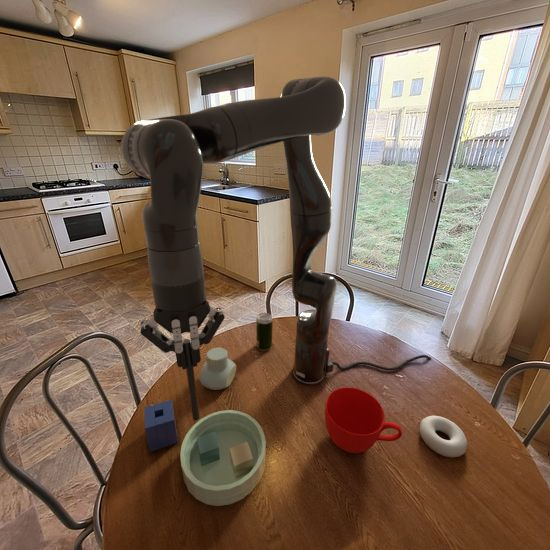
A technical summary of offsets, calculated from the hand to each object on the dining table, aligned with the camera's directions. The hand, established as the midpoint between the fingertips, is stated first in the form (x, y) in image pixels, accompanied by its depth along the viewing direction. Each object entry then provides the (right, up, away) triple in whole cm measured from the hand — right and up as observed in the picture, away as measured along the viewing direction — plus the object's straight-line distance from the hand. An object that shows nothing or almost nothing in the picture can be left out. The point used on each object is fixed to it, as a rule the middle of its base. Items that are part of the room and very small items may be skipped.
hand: (189, 364), depth 50 cm
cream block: (+8, -25, +12) cm, 29 cm away
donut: (+54, -24, +20) cm, 63 cm away
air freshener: (-2, -16, +35) cm, 39 cm away
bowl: (+4, -25, +14) cm, 29 cm away
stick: (0, -12, +5) cm, 13 cm away
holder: (-12, -23, +19) cm, 32 cm away
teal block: (0, -24, +14) cm, 28 cm away
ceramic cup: (+34, -24, +19) cm, 46 cm away
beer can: (+11, -9, +50) cm, 52 cm away
